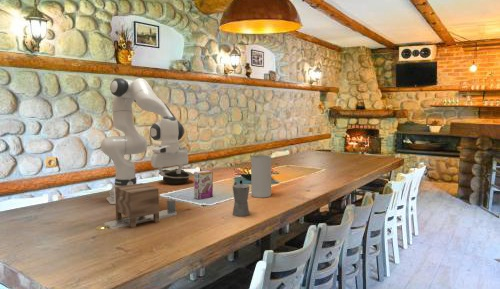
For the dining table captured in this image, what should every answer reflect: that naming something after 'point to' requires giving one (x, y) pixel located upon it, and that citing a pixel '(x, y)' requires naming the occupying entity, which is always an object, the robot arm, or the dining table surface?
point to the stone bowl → (176, 176)
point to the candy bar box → (203, 184)
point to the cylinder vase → (261, 176)
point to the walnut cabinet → (137, 202)
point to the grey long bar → (144, 217)
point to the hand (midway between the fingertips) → (170, 174)
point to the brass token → (101, 227)
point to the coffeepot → (240, 199)
